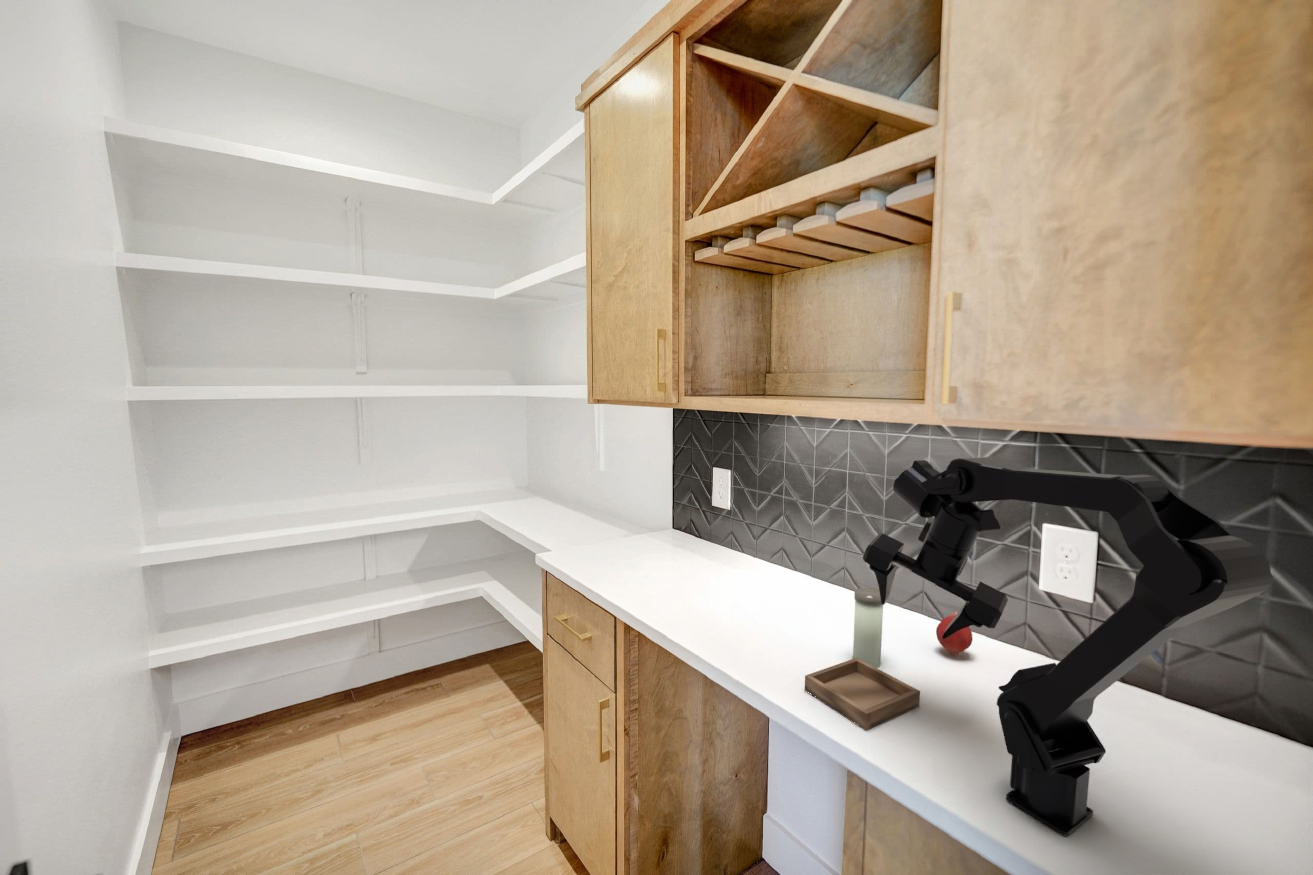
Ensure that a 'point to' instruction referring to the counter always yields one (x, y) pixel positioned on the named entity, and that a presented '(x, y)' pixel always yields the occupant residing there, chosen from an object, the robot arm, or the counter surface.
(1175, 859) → the counter surface
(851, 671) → the walnut tray
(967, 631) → the onion
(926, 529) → the robot arm
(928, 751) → the counter surface
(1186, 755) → the counter surface
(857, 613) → the spice jar
